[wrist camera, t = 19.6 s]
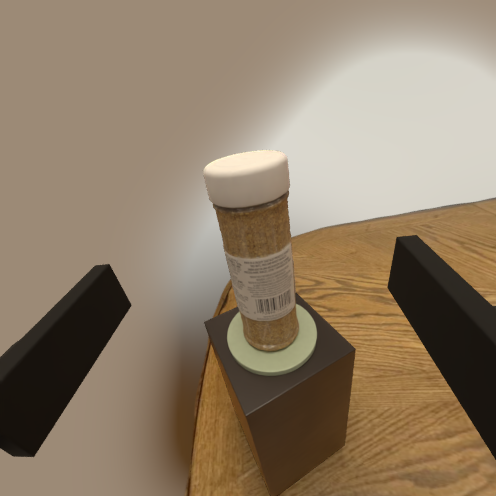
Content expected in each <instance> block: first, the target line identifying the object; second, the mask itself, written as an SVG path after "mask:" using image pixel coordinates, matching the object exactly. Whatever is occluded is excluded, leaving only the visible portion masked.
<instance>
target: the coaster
mask: <svg viewBox="0 0 496 496" xmlns="http://www.w3.org/2000/svg"><path fill="white" fill-rule="evenodd" d="M296 314H297V318H298V322H299V331H298V334H297V336H296V338H295V340H294V341H293V342H292V343H291V344H290V345H288V346H287V347H285V348H283V349H279V350H276V351H263V350H259V349H257V348H255V347H253V346H252V345H250V344H249V343H248V341H247V340H246V338H245V337H244V333H243V322H242V319H241V315H240V311H239V312H238V313H237V314H236V315H235V317H234V318H233V320H232V321H231V323H230V325H229V328H228V332H227V342H228V347H229V350H230V352H231V355H232V356H233V358H234V359H235V361H236V362H237V363H238V364H239V365H240V366H242V367H243V368H245V369H246V370H248V371H250V372H252V373H255V374H259V375H264V376H278V375H283V374H287V373H290V372H292V371H294V370H296V369H298V368H299V367H301V366H302V365H303V364H304V363H306V362H307V361H308V359H309V358H310V357H311V355H312V354H313V352H314V350H315V347H316V343H317V328H316V325H315V322H314V320H313V318H312V317H311V315H310V314H309V313H308V312H307V311H306V310H305V309H304V308H303V307H301V306H300V305H298V304H296Z"/></svg>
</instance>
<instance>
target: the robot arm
mask: <svg viewBox="0 0 496 496" xmlns="http://www.w3.org/2000/svg"><path fill="white" fill-rule="evenodd" d="M388 289H389V291H390V292H391V294H392V296H393V297H394V299H395V300H396V302H397V303H398V305H399V307H400V308H401V310H402V311H403V313H404V315H405V316H406V318H407V319H408V321H409V323H410V324H411V326H412V327H413V329H414V331H415V332H416V334H417V335H418V337H419V338H420V340H421V342H422V343H423V345H424V346H425V348H426V350H427V351H428V353H429V354H430V356H431V358H432V359H433V361H434V362H435V364H436V366H437V367H438V369H439V370H440V372H441V374H442V375H443V377H444V378H445V380H446V381H447V383H448V385H449V386H450V388H451V389H452V391H453V393H454V394H455V396H456V397H457V399H458V401H459V402H460V404H461V405H462V407H463V409H464V410H465V412H466V413H467V415H468V416H469V418H470V420H471V421H472V423H473V424H474V426H475V428H476V429H477V431H478V432H479V434H480V436H481V437H482V439H483V440H484V442H485V444H486V445H487V447H488V448H489V450H490V451H491V453H492V455H493V456H494V458H495V459H496V306H492V305H491V304H490V303H489V302H488V301H487V300H486V299H484V298H483V297H482V296H481V295H480V294H479V293H478V292H477V291H476V290H475V289H474V288H473V287H472V286H471V285H469V284H468V283H467V282H466V281H465V280H464V279H463V278H462V277H461V276H460V275H459V274H458V273H457V272H455V271H454V270H453V269H452V268H451V267H450V266H449V265H448V264H447V263H446V262H445V261H444V260H443V259H442V258H440V257H439V256H438V255H437V254H436V253H435V252H434V251H433V250H432V249H431V248H430V247H429V246H428V245H427V244H425V243H424V242H423V241H422V240H421V239H420V238H419V237H418V236H417V235H413V236H403V237H397V238H396V244H395V249H394V255H393V260H392V266H391V271H390V277H389V282H388ZM130 307H131V303H130V301H129V300H128V298H127V296H126V294H125V292H124V290H123V288H122V287H121V285H120V283H119V281H118V279H117V277H116V275H115V274H114V272H113V270H112V268H111V266H110V265H109V264H106V265H96V266H94V267H93V268H92V269H91V270H90V271H89V272H88V273H87V274H86V275H85V276H84V277H83V278H82V279H81V280H80V281H79V282H78V283H77V284H76V285H75V286H74V287H73V288H72V289H71V290H70V291H69V292H68V293H67V294H66V295H65V296H64V297H63V298H62V299H61V300H60V301H59V302H58V303H57V304H56V305H55V306H54V307H53V308H52V309H51V310H50V311H49V312H48V313H47V314H46V315H45V316H44V317H43V318H42V319H41V320H40V321H39V322H38V323H37V324H36V325H35V326H34V327H33V328H32V329H31V330H30V331H29V332H28V333H27V334H26V335H25V336H24V337H23V338H22V339H20V340H19V341H17V342H16V343H15V344H14V345H12V346H11V347H10V348H9V349H8V350H7V351H6V352H5V353H4V354H3V355H2V356H1V357H0V448H1V449H2V450H4V451H6V452H7V453H9V454H10V455H12V456H18V457H34V456H35V454H36V453H37V451H38V450H39V448H40V447H41V445H42V444H43V442H44V440H45V439H46V437H47V436H48V434H49V433H50V431H51V430H52V428H53V427H54V425H55V423H56V422H57V420H58V419H59V417H60V416H61V414H62V413H63V411H64V409H65V408H66V406H67V405H68V403H69V402H70V400H71V399H72V397H73V395H74V394H75V392H76V391H77V389H78V388H79V386H80V385H81V383H82V382H83V380H84V378H85V377H86V375H87V374H88V372H89V371H90V369H91V368H92V366H93V364H94V363H95V361H96V360H97V358H98V357H99V355H100V354H101V352H102V350H103V349H104V347H105V346H106V344H107V343H108V341H109V340H110V338H111V337H112V335H113V333H114V332H115V330H116V329H117V327H118V326H119V324H120V322H121V321H122V319H123V318H124V316H125V315H126V313H127V312H128V310H129V309H130Z"/></svg>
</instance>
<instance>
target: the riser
mask: <svg viewBox="0 0 496 496" xmlns="http://www.w3.org/2000/svg"><path fill="white" fill-rule="evenodd" d="M295 301H296V304H298V305H300V306H301V307H303V308H304V309H305V310H306V311H307V312H308V313H309V314H310V315H311V317H312V318H313V320H314V322H315V325H316V328H317V343H316V347H315V350H314V352H313V354H312V355H311V357H310V358H309V359H308V361H307V362H306V363H304V364H303V365H302V366H301V367H299V368H298V369H296V370H294V371H292V372H290V373H287V374H283V375H278V376H264V375H259V374H255V373H252V372H250V371H248V370H246V369H245V368H243V367H242V366H240V365H239V364H238V363H237V362H236V361H235V359H234V358H233V356H232V355H231V352H230V350H229V347H228V342H227V332H228V328H229V325H230V323H231V321H232V320H233V318H234V317H235V315H236V314H237V313H238V312H239V311H240V310H239V308H238V307H236V308H234V309H232V310H229V311H227V312H225V313H223V314H221V315H218V316H216V317H214V318H212V319H210V320H208V321H205V322H204V323H205V326H206V329H207V332H208V335H209V338H210V341H211V344H212V347H213V349H214V352H215V355H216V358H217V361H218V364H219V367H220V369H221V372H222V375H223V378H224V381H225V384H226V387H227V389H228V392H229V395H230V398H231V401H232V404H233V407H234V409H235V412H236V415H237V417H238V419H239V422H240V424H241V427H242V429H243V432H244V434H245V436H246V439H247V441H248V444H249V446H250V448H251V451H252V453H253V456H254V458H255V461H256V463H257V465H258V468H259V470H260V473H261V475H262V478H263V480H264V482H265V485H266V487H267V490H268V492H269V495H270V496H278V495H279V494H281V493H282V492H283V491H285V490H286V489H287V488H289V487H290V486H291V485H293V484H294V483H295V482H297V481H298V480H299V479H300V478H302V477H303V476H304V475H306V474H307V473H308V472H310V471H311V470H312V469H314V468H315V467H316V466H318V465H319V464H320V463H322V462H323V461H324V460H326V459H327V458H328V457H330V456H331V455H332V454H334V453H335V452H336V451H338V450H339V449H340V448H342V447H343V446H344V445H345V438H346V430H347V421H348V412H349V403H350V394H351V386H352V377H353V368H354V359H355V350H356V349H355V348H354V347H353V346H352V345H351V344H350V343H349V342H348V341H347V340H346V339H345V338H344V337H342V336H341V335H340V334H339V333H338V332H337V331H336V330H335V329H334V328H333V327H332V326H331V325H330V324H329V323H328V322H327V321H326V320H324V319H323V318H322V317H321V316H320V315H319V314H318V313H317V312H316V311H315V310H314V309H313V308H312V307H311V306H310V305H309V304H308V303H307V302H305V301H304V300H303V299H302V298H301V297H300V296H299V295H298V294H297V293H295Z"/></svg>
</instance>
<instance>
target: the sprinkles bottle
mask: <svg viewBox="0 0 496 496" xmlns="http://www.w3.org/2000/svg"><path fill="white" fill-rule="evenodd" d="M204 178H205V183H206V187H207V191H208V195H209V199H210V201H211V202H212V203H213V208H214V209H215V210H216V214H217V218H218V222H219V227H220V231H221V233H222V238H223V247H224V251H225V255H226V259H227V264H228V268H229V272H230V276H231V280H232V284H233V289H234V293H235V297H236V301H237V306H238V308H239V310H240V315H241V319H242V322H243V333H244V337H245V338H246V340H247V341H248V343H249V344H250V345H252V346H253V347H255V348H257V349H259V350H263V351H276V350H279V349H283V348H285V347H287V346H288V345H290V344H291V343H292V342H293V341H294V340H295V338H296V336H297V334H298V331H299V322H298V318H297V314H296V301H295V293H296V289H295V275H294V262H293V257H292V244H291V234H290V224H289V215H288V201H287V198H288V195H289V191H288V190H289V187H290V182H289V170H288V161H287V157H286V155H285V154H284V153H282V152H279V151H273V150H260V151H251V152H244V153H239V154H234V155H230V156H226V157H223V158H220V159H217V160H215V161H213V162H211V163H209V164H208V165H207V166H206V167H205V168H204Z"/></svg>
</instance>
